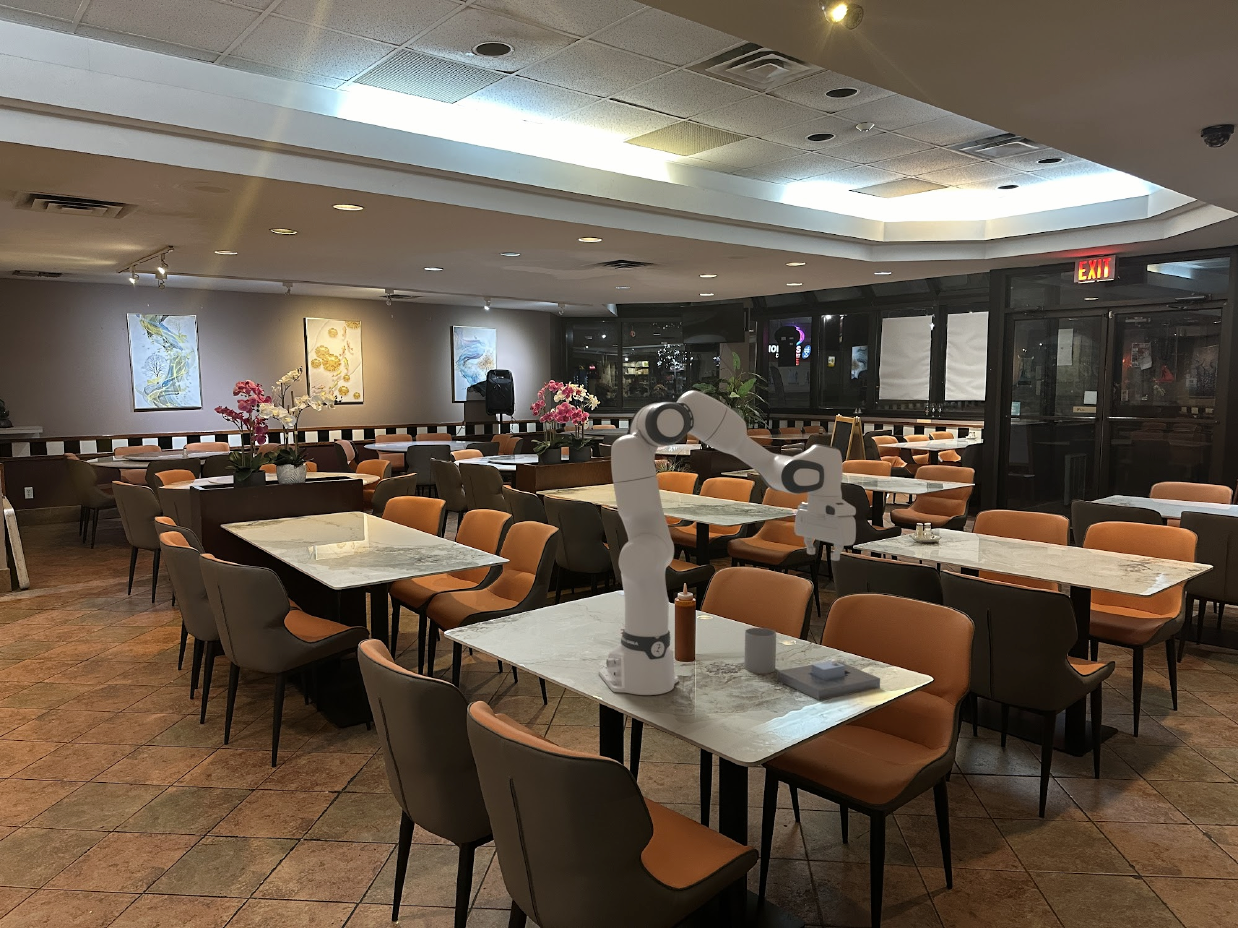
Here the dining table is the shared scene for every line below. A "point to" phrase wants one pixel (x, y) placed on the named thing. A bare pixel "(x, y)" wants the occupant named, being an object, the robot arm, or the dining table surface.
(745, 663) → the cup
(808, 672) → the frame
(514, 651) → the dining table surface
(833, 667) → the block
